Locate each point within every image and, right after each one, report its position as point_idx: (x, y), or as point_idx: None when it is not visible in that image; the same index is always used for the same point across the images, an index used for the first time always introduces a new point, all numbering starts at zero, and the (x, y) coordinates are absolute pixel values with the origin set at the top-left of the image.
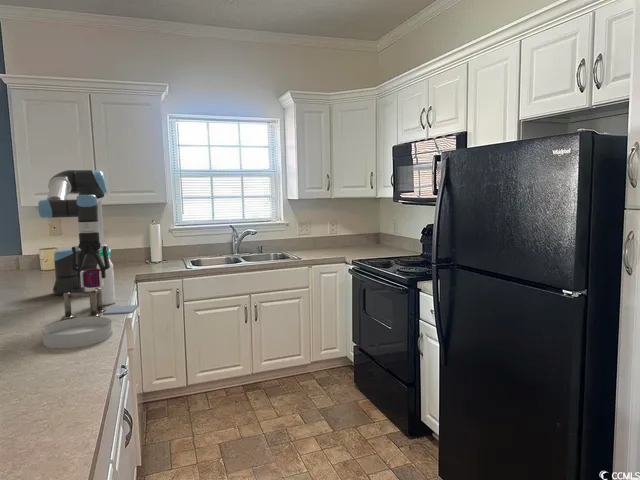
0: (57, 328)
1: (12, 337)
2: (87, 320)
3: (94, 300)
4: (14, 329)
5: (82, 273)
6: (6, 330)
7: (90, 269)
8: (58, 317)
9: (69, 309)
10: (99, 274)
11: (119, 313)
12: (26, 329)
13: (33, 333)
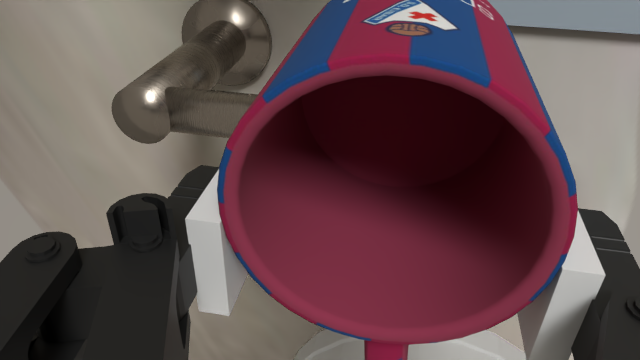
0: None
1: None
2: (427, 354)
3: None
4: (54, 204)
5: (237, 278)
6: (28, 208)
7: (293, 90)
8: (151, 7)
9: (222, 76)
10: (522, 316)
11: (613, 29)
12: None
13: None
